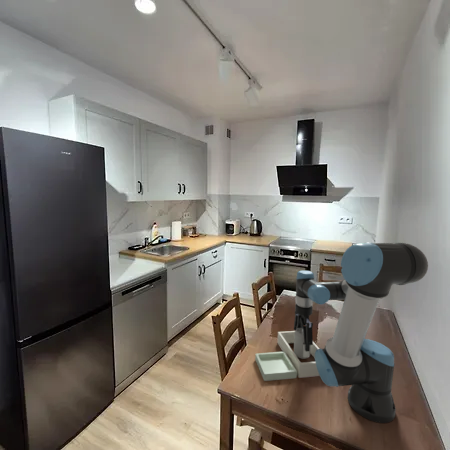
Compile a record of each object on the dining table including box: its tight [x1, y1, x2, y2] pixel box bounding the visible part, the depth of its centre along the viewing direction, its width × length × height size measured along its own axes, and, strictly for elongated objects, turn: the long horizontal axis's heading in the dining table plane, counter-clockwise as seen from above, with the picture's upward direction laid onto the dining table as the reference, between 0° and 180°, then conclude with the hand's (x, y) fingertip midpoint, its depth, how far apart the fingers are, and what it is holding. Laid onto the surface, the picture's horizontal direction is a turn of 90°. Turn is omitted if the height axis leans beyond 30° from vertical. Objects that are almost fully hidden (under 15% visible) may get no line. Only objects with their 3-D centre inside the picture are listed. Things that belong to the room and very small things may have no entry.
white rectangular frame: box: [277, 330, 320, 378], centre depth 122 cm, size 26×14×6 cm, turn 8°
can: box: [293, 328, 311, 360], centre depth 121 cm, size 8×8×12 cm
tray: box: [254, 351, 298, 382], centre depth 114 cm, size 14×14×3 cm
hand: (302, 351), depth 121 cm, fingers closed on can, 7 cm apart
